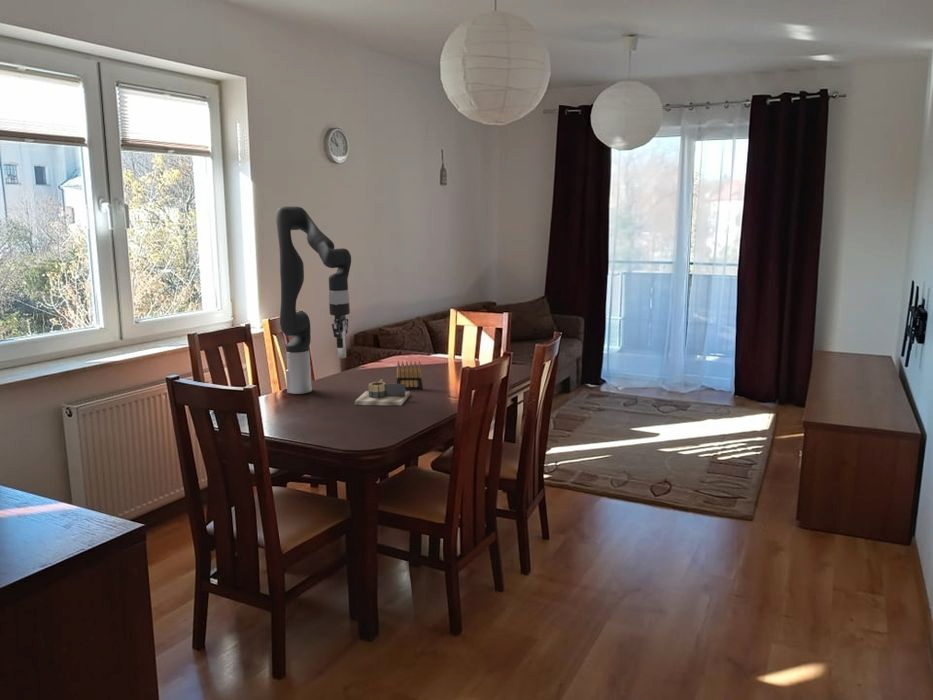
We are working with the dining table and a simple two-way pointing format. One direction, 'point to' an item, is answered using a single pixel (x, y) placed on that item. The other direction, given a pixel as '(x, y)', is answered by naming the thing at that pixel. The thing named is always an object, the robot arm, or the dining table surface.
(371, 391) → the base plate with nut
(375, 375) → the dining table surface
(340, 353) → the hinge pin
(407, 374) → the ammunition clip
